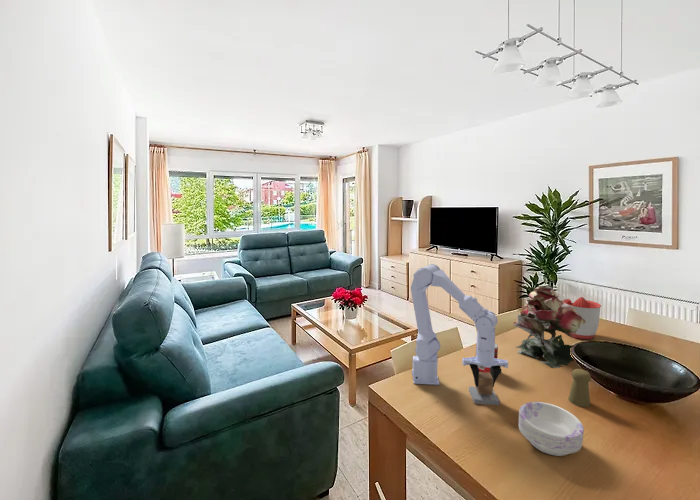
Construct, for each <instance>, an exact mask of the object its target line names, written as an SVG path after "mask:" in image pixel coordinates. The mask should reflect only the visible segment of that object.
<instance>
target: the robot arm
mask: <svg viewBox="0 0 700 500" xmlns="http://www.w3.org/2000/svg"><path fill="white" fill-rule="evenodd" d="M430 286H432V287H436V288H437V287H440V288H442V289H443V290H444V291H445V292H446V293H447V294H449V295H450V296H451V297H452V298H453V299H454V300H456V301H457V302H458V307H459V309H460V310H461V311H463V313H464V314H465V315H466V316H467V317H469V319H470V320H472V321H473V322H474V326H475V328H476V330H477V333H476V343H477V346H476V345H475V346H476V347H475V356H471V357H462V359H461V360H462V361H461V363H462V365H463V366H469V367H470V371H471V372H472V375H473V381H474V385H475V387H476V386H478V377H479V369H478V365H480V366H484V367H488V368H490V374H491V376H492V378H493V388H494V387H495V384H496V381H497V379H498V377H499V376H500V375H501V374H502V368H506V369H507V368H508V369H509V362H508V359H501V358H497V359H496V358H494V351H495V343H496V326H497V324H498V317H497V316H496V314H495V312H493V311H491V310H489V309H487V308H484V306H483V305H481V303H479V301H478V298H477V297H473V296H472V295H466V294H465V293H464V291H462V290H461V289H460V288H459V287H458V286H457V284H455V283H454V282H453V280H452V279H451V278H450V277H449V276H447V274H446V273H445V271H444V270H443V269H441V268H440V267H439V266H438V265H437V264H428V265H426V266H424V267H420V268H418V269H417V270H416V271H415V272H414V273H413V279H412V281H411V285H410V293H411V298H412V303H413V304H412V305H413V311H414V314H415V321H416V327H417V333H418V334H417V337H416V339H415V340H416V341H415V343H416V346H415V354H416V355H413V356H412V370H411V376H412V381H413V384H415V385H432V386H433V385H434V386H439V385H440V380H439V377H438V362H439V359H438V358H439V357H438V353H439V351H440V349H441V343H440V341H439V339H438V337H437V333H436V332H434V330H433V326H432V325H433V324H432V321H431V320H432V319H431V315H430V309H429V308H430V307H429V303H428V297H427V296H428V295H427V289H428V288H429V287H430ZM501 367H502V368H501Z"/></svg>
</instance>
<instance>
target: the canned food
mask: <svg viewBox="0 0 700 500" xmlns="http://www.w3.org/2000/svg"><path fill="white" fill-rule="evenodd" d="M475 346H477V342H476V343H475ZM498 348H499V346H498V344H497V343H496V342H495V351H494V358H496V359H498V357H499V356H498V354H499V353H498V351H499V349H498ZM478 369H479V372H489V373H490V368H488V367H484V366H480V365H478Z"/></svg>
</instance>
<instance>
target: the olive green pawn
mask: <svg viewBox="0 0 700 500" xmlns="http://www.w3.org/2000/svg"><path fill="white" fill-rule="evenodd" d="M571 377H572V382H571V387H570V391H569V394H568V401H569V403H571V404H573V405H575V406H577V407H580V408H588V407H591V399H590V385H589V383H590V382H591V379H592V376H591V374H590V372H589V371H587V370H585V369H581V368H575V369H573V370H572V372H571Z"/></svg>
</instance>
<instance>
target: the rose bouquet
mask: <svg viewBox="0 0 700 500" xmlns="http://www.w3.org/2000/svg"><path fill="white" fill-rule="evenodd" d="M528 297H529V298H530V299H529V298H528V299H527V298H526V299H525V304H524V305H523V306H522V307H521V308H517V309H516V310H517V311H516V312H517V313H516V314H517V315H516V317H517V318H516V319H515V321H514V322H513V327H516V328H518V329H520V330H522V331H525V332H526V333H528V334H529V335H528V336H527V338H526V339H523V340H522V342H521V344H520V345H517V346H515V349H518V350H517V354H519V355H522V354H524V355H528V356H530V357H533V358H534V359H537V360H539V359H540V357H538V355H542V357H543V358H544V360H545V361H541V360H539V362H540V363H542V364H544V365H546V366H548V367H550V368H551V369H553V368H555V369H556V368H557V369H560V368H562V367H563V366H564V365H565V366H568V365H569V364H570V363H571V362H572V361H573V358H572V357H571V355H570V348H571V347H572V346H574V345H572V344H565V341H564V340H563V336H562V334H560V335H557V333H556V331H557V332H561V333H563V334H565V335H567V336H569V337H572V336H573V335H571V334H569V333H576V331H577V329H579V328H580V325H581V324H584V323H585V320H584V318H582V317H581V316H580V315H579V314H578V313H577V312H576V310H575V308H574V307H573V306H570V305H568V304H564V302H563V300H560V299H559V297H560V294H559V293H556V291H555V290H554V289H553V287H551V286H542V285H541V286H540V285H539V286H537V287H535V288H533V291H531V292H530V293H529V294H528ZM545 333H549V334H550V335H551V337H550V338H549V339H546V338H545ZM574 337H575V336H574ZM572 338H573V337H572Z"/></svg>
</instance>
